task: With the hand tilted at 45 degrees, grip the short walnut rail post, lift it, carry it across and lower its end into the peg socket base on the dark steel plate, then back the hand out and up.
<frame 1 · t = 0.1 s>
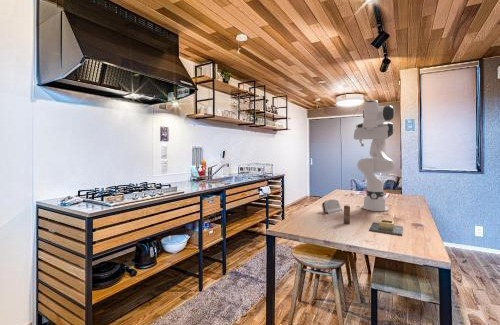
hand: (370, 146, 170), 48 cm above the table, tool pointing down, fingers open, 8 cm apart
rail post: (346, 223, 161), on the table
peg socket base: (386, 229, 150), on the table
hinge: (331, 212, 192), on the table
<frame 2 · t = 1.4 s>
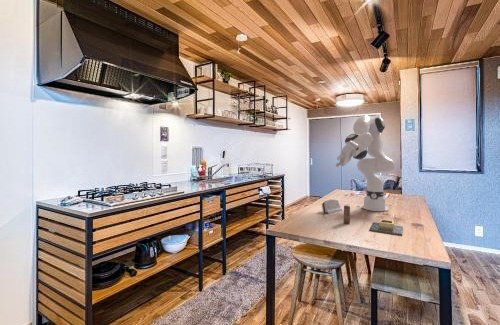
hand: (337, 162, 169), 37 cm above the table, tool tilted 55°, fingers open, 8 cm apart
nothing on the table moved.
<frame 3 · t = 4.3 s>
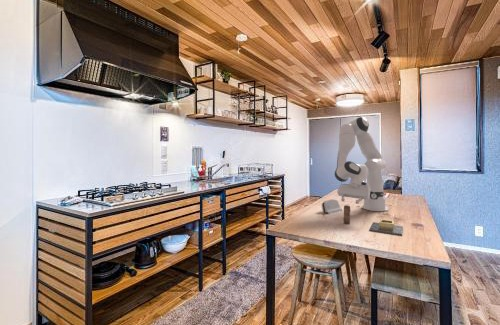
hand: (349, 202, 167), 12 cm above the table, tool tilted 45°, fingers open, 8 cm apart
nothing on the table moved.
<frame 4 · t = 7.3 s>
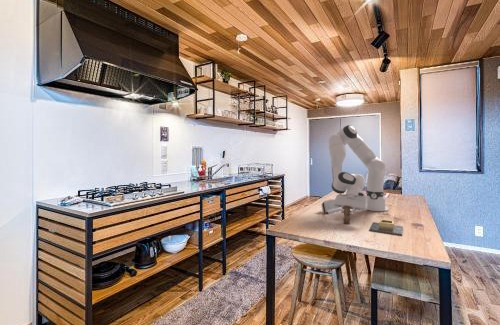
hand: (346, 213, 161), 6 cm above the table, tool tilted 45°, fingers closed on rail post, 4 cm apart
rail post: (346, 223, 161), on the table, touching gripper
everything else where it was.
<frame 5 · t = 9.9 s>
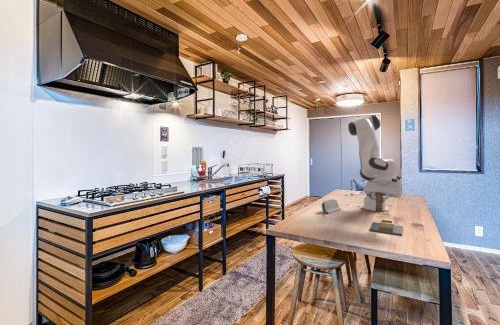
hand: (379, 200, 150), 16 cm above the table, tool tilted 45°, fingers closed on rail post, 4 cm apart
rail post: (378, 211, 151), point 10 cm above the table, touching gripper
everything else where it was.
when the fingers open (9 cm above the table, at t = 12.6 s): rail post drops 2 cm, resting on peg socket base.
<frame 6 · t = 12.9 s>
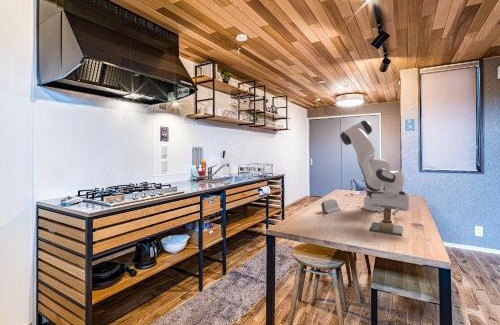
hand: (386, 213, 149), 9 cm above the table, tool tilted 45°, fingers open, 6 cm apart
rail post: (386, 227, 150), point 1 cm above the table, touching peg socket base
everything else where it was.
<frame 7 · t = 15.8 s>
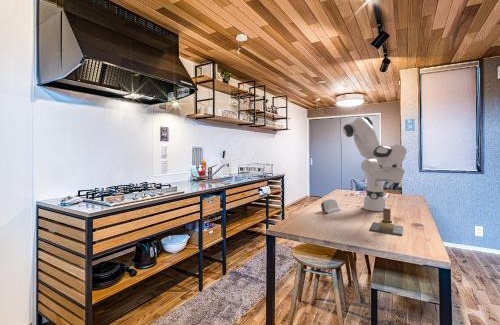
hand: (380, 186, 160), 23 cm above the table, tool tilted 35°, fingers open, 8 cm apart
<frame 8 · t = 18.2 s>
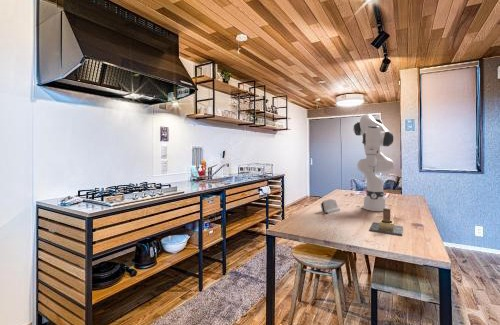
hand: (372, 172, 166), 31 cm above the table, tool pointing down, fingers open, 8 cm apart
at the end: rail post 0.0 cm off-centre on the peg socket base, point 1.0 cm above the peg socket base's base; rail post tilted 0°; the gripper is holding nothing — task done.
